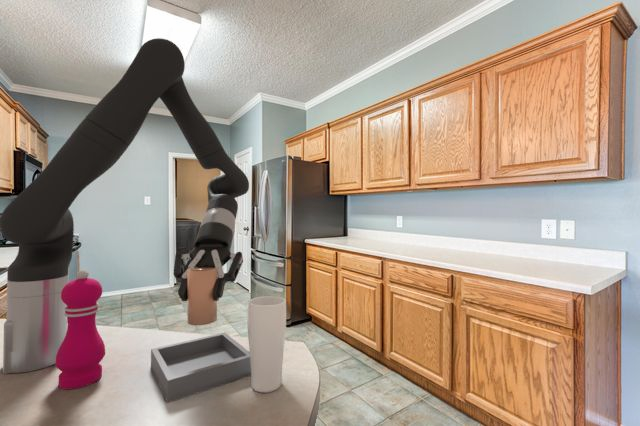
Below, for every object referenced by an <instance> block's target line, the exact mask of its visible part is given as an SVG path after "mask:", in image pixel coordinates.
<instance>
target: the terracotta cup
mask: <svg viewBox="0 0 640 426" xmlns="http://www.w3.org/2000/svg"><path fill="white" fill-rule="evenodd" d="M187 269H188V268H187ZM187 269H186V270H187ZM216 279H218V275H217V268H216V267H196V268H191V269H188V270H187V301H186V305H187V308H186V309H187V311H186V314H187V316H186V317H187V318H186V319H187V324H188V325H191V326H206V325H209V324H213V323H215V322H216V321H217V320H218V301H214V299H213V291H214V286H215V282H216Z"/></svg>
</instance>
